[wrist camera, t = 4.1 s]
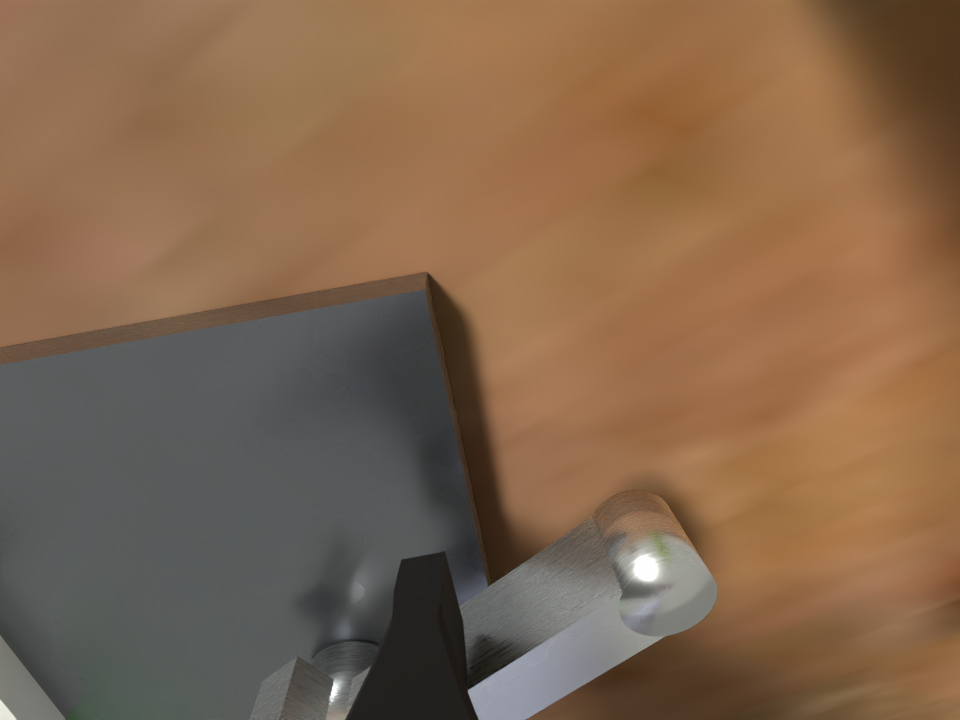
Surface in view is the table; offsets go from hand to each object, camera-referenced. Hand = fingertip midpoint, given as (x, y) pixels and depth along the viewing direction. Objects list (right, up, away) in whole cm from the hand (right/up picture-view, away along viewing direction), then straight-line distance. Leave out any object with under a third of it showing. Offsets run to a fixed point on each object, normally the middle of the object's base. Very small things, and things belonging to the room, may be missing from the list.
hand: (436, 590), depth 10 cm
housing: (-9, -2, +4) cm, 10 cm away
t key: (+1, -1, +2) cm, 3 cm away
